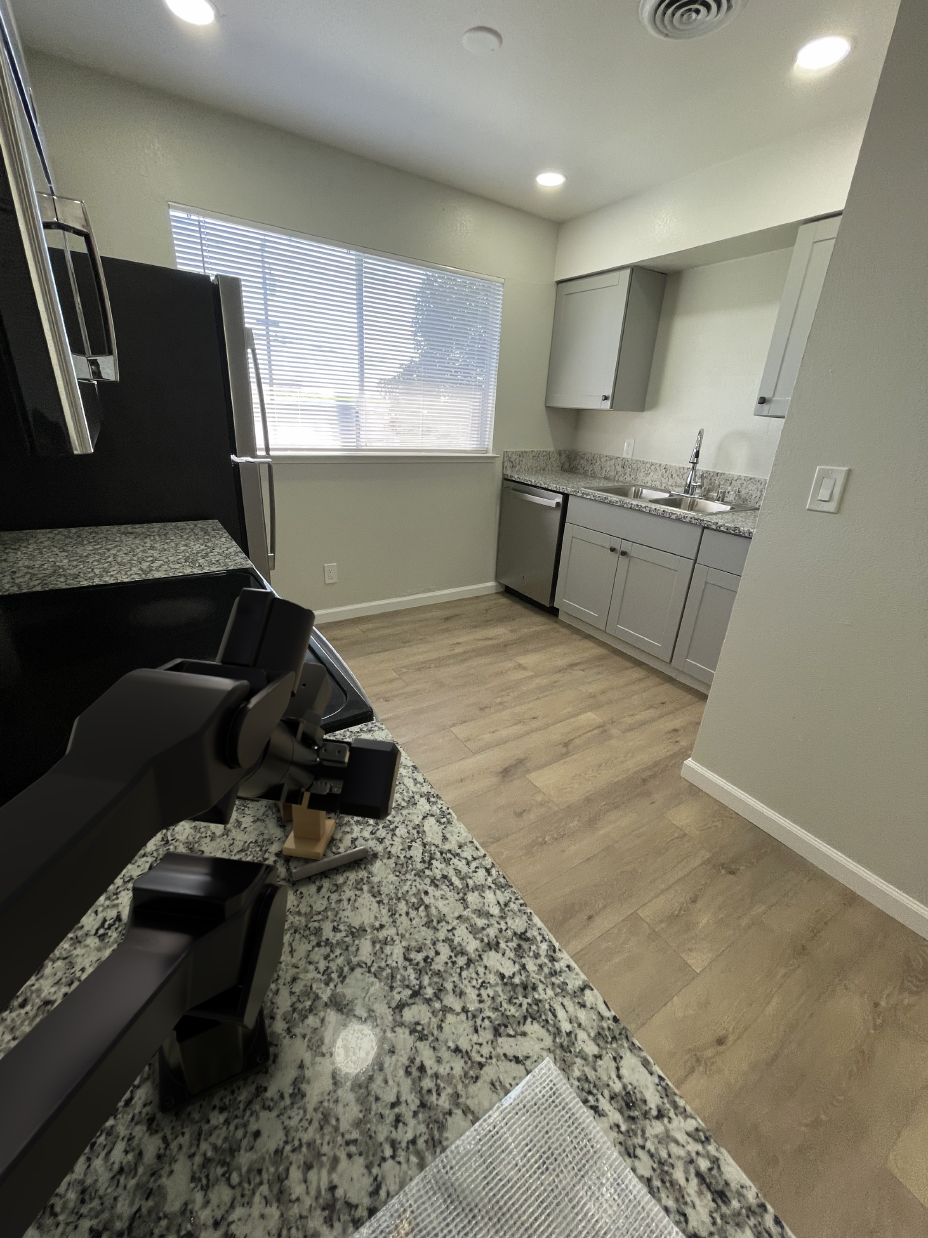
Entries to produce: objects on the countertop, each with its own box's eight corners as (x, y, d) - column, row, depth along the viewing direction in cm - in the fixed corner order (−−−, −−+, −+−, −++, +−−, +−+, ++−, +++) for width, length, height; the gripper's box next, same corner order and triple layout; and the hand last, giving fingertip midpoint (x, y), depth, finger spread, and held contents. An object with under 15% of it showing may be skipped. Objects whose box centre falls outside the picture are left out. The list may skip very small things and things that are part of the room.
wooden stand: (371, 857, 51) (372, 827, 49) (294, 883, 47) (292, 853, 46) (329, 762, 63) (328, 736, 62) (265, 777, 60) (263, 750, 58)
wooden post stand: (320, 860, 50) (318, 778, 46) (282, 855, 50) (277, 772, 46) (336, 825, 54) (335, 747, 50) (301, 820, 54) (298, 742, 51)
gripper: (401, 663, 39) (419, 710, 53) (168, 634, 40) (247, 688, 54) (372, 817, 35) (400, 823, 49) (111, 781, 36) (213, 797, 50)
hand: (313, 777), depth 51 cm, fingers closed on wooden post stand, 3 cm apart
